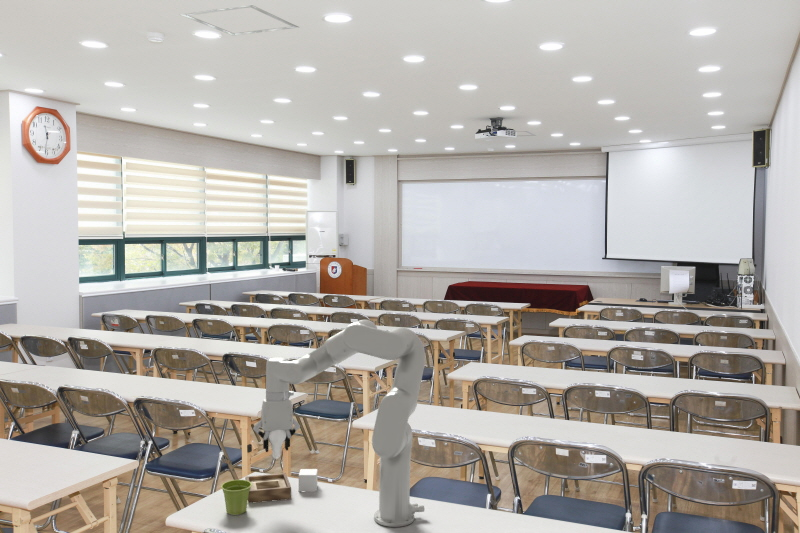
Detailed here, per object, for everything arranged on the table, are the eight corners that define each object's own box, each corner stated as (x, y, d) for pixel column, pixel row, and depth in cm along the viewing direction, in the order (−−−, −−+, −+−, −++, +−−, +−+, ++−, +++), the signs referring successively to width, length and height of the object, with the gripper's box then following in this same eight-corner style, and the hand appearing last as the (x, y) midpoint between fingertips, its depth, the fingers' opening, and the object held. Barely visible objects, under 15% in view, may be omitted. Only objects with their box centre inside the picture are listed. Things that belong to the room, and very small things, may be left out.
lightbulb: (284, 462, 219) (285, 428, 219) (265, 461, 219) (266, 428, 219) (287, 455, 225) (288, 423, 225) (268, 455, 225) (269, 422, 225)
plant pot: (252, 515, 213) (253, 488, 213) (222, 519, 210) (222, 491, 210) (250, 504, 222) (250, 478, 221) (220, 507, 219) (220, 481, 219)
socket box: (285, 484, 240) (285, 473, 240) (291, 499, 227) (291, 487, 227) (245, 487, 236) (245, 476, 236) (248, 503, 223) (248, 491, 222)
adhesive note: (315, 492, 234) (316, 475, 233) (298, 492, 233) (298, 475, 233) (317, 485, 240) (317, 468, 239) (300, 485, 239) (300, 468, 239)
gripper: (301, 391, 228) (300, 444, 228) (249, 394, 222) (248, 448, 223) (305, 397, 220) (304, 451, 221) (251, 399, 215) (251, 455, 216)
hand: (276, 449), depth 222 cm, fingers closed on lightbulb, 5 cm apart
